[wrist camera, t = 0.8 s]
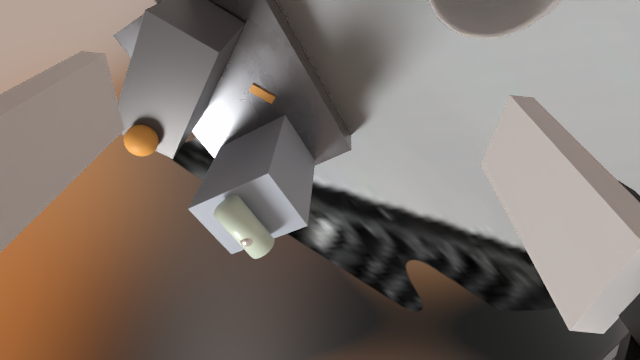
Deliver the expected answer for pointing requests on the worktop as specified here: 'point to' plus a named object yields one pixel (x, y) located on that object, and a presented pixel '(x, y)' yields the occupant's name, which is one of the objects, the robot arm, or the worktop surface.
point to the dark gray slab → (174, 73)
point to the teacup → (490, 15)
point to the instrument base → (270, 73)
